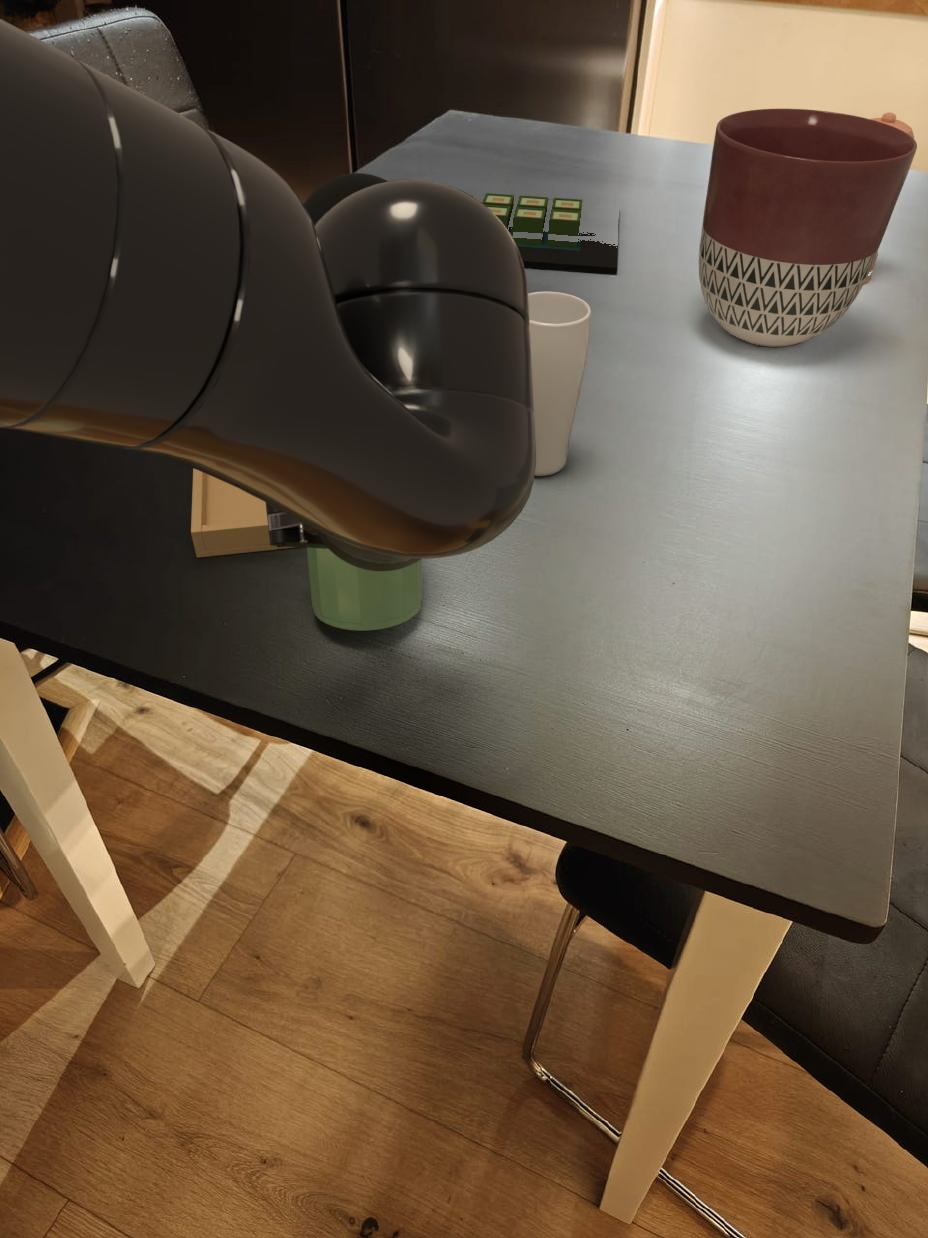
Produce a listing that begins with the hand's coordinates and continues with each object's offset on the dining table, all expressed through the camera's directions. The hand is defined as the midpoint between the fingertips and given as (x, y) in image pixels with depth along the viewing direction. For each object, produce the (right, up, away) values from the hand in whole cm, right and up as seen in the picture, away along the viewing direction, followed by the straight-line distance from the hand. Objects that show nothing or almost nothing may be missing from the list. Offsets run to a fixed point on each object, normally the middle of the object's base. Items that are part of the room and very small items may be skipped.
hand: (371, 534), depth 60 cm
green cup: (-1, -4, +8) cm, 9 cm away
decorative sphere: (-6, +31, +48) cm, 58 cm away
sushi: (+15, +49, +68) cm, 85 cm away
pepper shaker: (+56, +40, +59) cm, 90 cm away
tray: (-9, +11, +26) cm, 30 cm away
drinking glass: (+13, +9, +24) cm, 29 cm away
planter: (+41, +27, +45) cm, 67 cm away
